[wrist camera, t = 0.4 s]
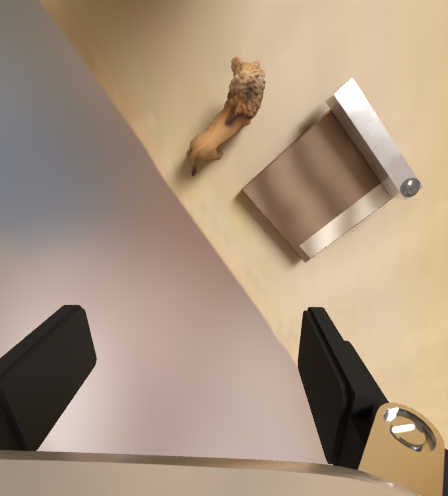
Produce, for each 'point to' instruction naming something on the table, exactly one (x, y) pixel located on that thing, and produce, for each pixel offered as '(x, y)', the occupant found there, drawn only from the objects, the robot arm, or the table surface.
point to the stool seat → (317, 188)
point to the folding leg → (373, 140)
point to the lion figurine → (231, 111)
